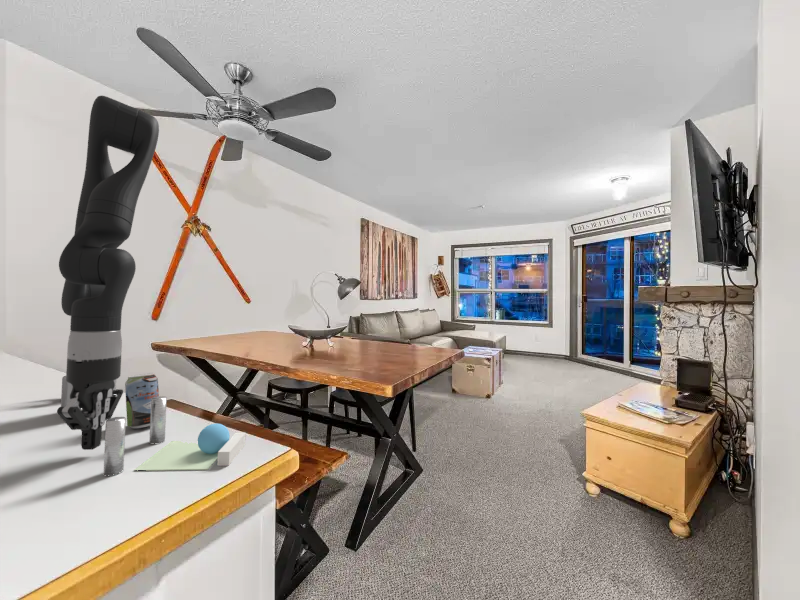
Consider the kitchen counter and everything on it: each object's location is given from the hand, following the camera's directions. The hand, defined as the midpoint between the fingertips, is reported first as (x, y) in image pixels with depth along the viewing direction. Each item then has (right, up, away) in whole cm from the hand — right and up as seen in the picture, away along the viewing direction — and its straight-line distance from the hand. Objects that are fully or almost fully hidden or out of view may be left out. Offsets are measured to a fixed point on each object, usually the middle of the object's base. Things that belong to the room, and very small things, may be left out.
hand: (91, 447), depth 63 cm
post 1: (+9, -2, -5) cm, 10 cm away
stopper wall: (+25, -3, +3) cm, 25 cm away
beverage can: (-2, -2, +15) cm, 15 cm away
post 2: (+7, -2, +7) cm, 10 cm away
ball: (+21, 0, +4) cm, 21 cm away
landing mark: (+17, -2, +2) cm, 17 cm away
